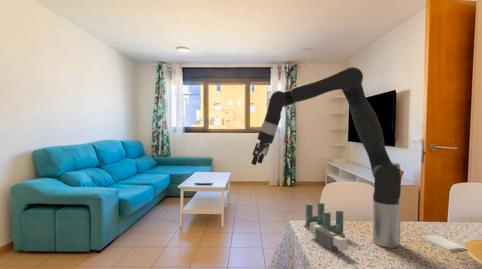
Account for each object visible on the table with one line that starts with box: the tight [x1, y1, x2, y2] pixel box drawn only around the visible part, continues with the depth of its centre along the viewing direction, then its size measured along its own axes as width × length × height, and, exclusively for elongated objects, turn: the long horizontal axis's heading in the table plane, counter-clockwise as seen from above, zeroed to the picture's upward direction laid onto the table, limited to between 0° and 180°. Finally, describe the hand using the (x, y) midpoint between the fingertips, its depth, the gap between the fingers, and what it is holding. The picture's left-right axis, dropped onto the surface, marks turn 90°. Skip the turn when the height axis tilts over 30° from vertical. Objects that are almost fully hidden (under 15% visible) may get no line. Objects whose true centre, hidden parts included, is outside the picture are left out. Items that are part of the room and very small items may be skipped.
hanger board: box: [304, 202, 346, 238], centre depth 117 cm, size 10×16×11 cm, turn 20°
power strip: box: [309, 222, 348, 253], centre depth 103 cm, size 4×19×6 cm, turn 20°
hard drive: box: [420, 234, 465, 253], centre depth 104 cm, size 2×8×12 cm
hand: (256, 163), depth 123 cm, fingers open, 8 cm apart
